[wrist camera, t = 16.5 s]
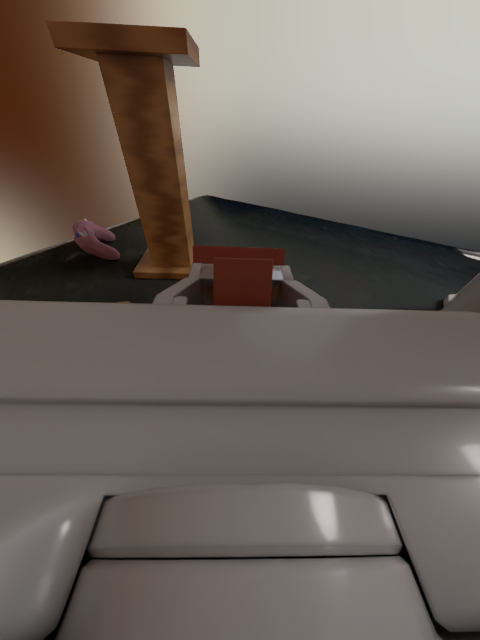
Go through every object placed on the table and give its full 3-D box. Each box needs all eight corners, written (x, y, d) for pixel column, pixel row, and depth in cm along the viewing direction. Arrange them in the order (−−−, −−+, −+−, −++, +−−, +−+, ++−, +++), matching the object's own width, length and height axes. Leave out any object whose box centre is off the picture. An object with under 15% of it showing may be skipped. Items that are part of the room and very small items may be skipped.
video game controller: (99, 249, 47) (67, 221, 41) (117, 236, 47) (87, 206, 41) (103, 272, 41) (65, 242, 35) (123, 257, 41) (88, 225, 35)
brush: (271, 286, 26) (273, 252, 25) (331, 319, 10) (343, 228, 9) (202, 284, 26) (202, 250, 25) (149, 315, 10) (143, 220, 9)
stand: (211, 255, 44) (198, 47, 26) (206, 280, 37) (185, 27, 19) (149, 253, 43) (92, 41, 25) (134, 278, 37) (45, 19, 19)
